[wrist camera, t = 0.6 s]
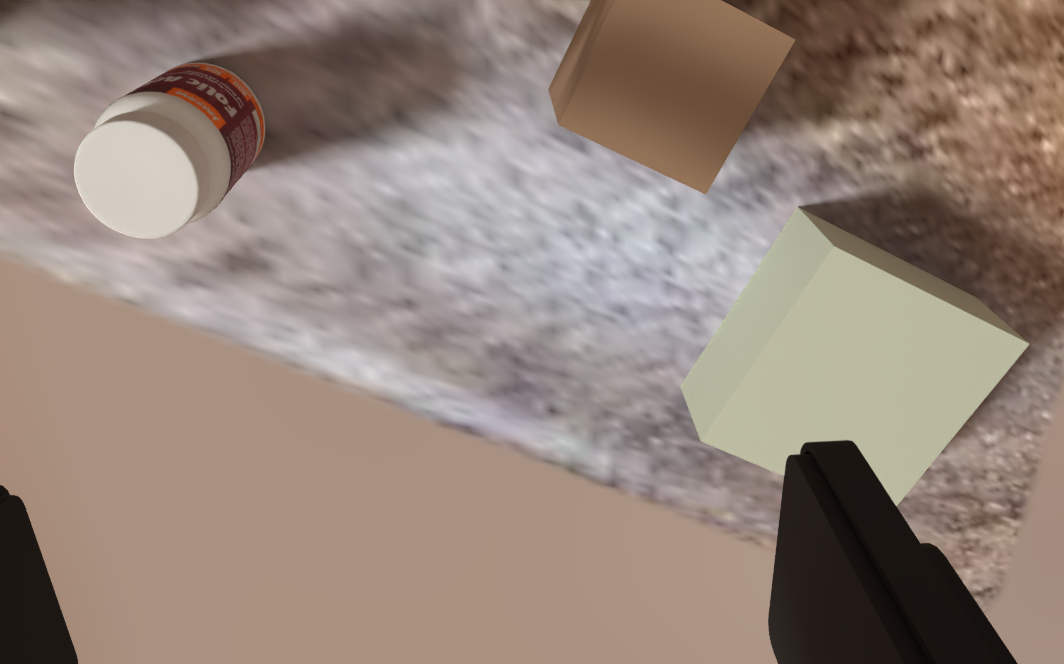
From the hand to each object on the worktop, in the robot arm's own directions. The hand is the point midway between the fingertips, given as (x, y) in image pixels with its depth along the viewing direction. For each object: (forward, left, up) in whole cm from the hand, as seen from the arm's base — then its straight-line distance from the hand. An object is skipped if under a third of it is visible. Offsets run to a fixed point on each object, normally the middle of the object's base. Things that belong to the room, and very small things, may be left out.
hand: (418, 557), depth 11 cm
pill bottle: (+6, -9, -29) cm, 31 cm away
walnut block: (-4, +6, -29) cm, 30 cm away
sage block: (+4, +20, -29) cm, 35 cm away
